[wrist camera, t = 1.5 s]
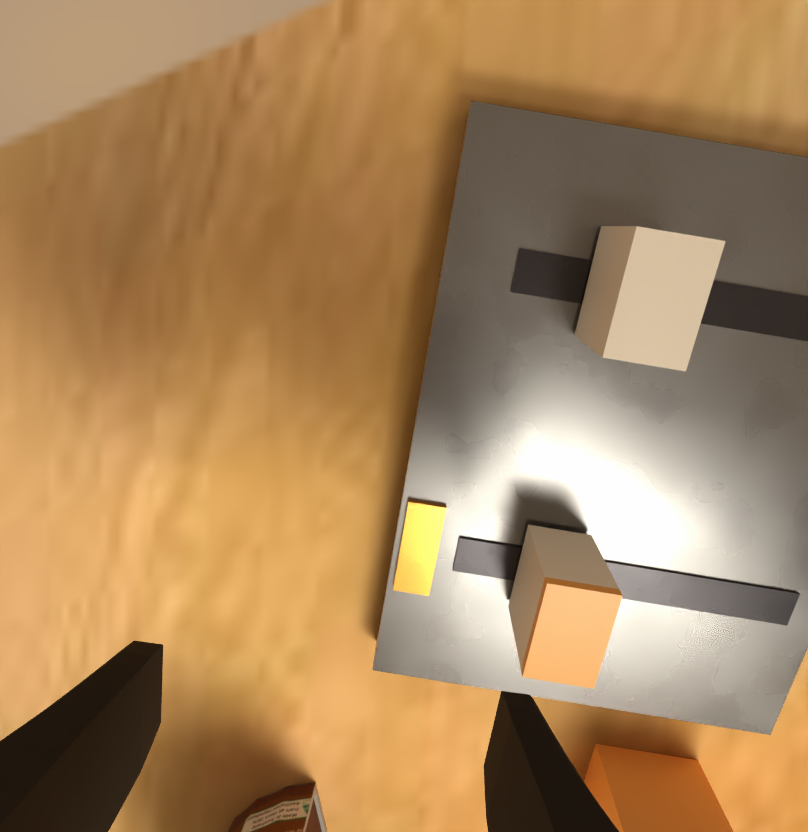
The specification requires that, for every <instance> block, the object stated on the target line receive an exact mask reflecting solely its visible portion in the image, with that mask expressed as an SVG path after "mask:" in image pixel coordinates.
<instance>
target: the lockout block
mask: <svg viewBox="0 0 808 832" xmlns="http://www.w3.org/2000/svg"><path fill="white" fill-rule="evenodd" d="M584 783H585V784H586V786H587V787H588V789H589V790H590V792H591V793H592V795H593V796H594V797H595V799H596V800H597V802H598V803H599V805H600V806H601V807H602V809H603V810H604V812H605V813H606V814H607V816H608V817H609V818H610V820H611V821H612V823H613V824H614V825H615V827H616V828H617V829H618V831H619V832H733V830H732V828H731V826H730V824H729V822H728V820H727V818H726V816H725V814H724V812H723V810H722V808H721V806H720V804H719V802H718V800H717V798H716V796H715V794H714V792H713V790H712V788H711V786H710V784H709V782H708V780H707V778H706V776H705V774H704V772H703V770H702V768H701V766H700V764H699V762H698V760H694V759H688V758H682V757H675V756H669V755H663V754H657V753H651V752H645V751H638V750H632V749H626V748H620V747H614V746H608V745H601V744H595V747H594V750H593V753H592V757H591V760H590V763H589V766H588V769H587V772H586V775H585V779H584Z"/></svg>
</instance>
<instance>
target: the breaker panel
mask: <svg viewBox="0 0 808 832" xmlns="http://www.w3.org/2000/svg"><path fill="white" fill-rule="evenodd" d="M601 226H638V227H644V228H650V229H656V230H662V231H668V232H674V233H680V234H686V235H692V236H698V237H704V238H710V239H716V240H722V241H726V242H725V245H724V248H723V251H722V255H721V258H720V261H719V264H718V268H717V271H716V274H715V278H714V281H713V284H712V287H711V291H710V294H709V297H708V301H707V304H706V307H705V310H704V314H703V317H702V320H701V323H700V327H699V330H698V333H697V337H696V340H695V343H694V346H693V350H692V353H691V356H690V360H689V363H688V366H687V369H686V371H680V370H674V369H668V368H662V367H656V366H650V365H644V364H638V363H632V362H626V361H620V360H614V359H608V358H602V357H601V356H600V355H598V354H597V353H596V352H595V351H593V350H592V349H591V348H589V347H588V346H587V345H585V344H584V343H583V342H582V341H580V340H579V339H578V338H576V337H575V336H574V335H575V331H576V327H577V323H578V319H579V315H580V311H581V307H582V303H583V299H584V294H585V290H586V286H587V282H588V278H589V274H590V270H591V266H592V262H593V258H594V254H595V249H596V245H597V241H598V237H599V233H600V229H601ZM528 525H534V526H540V527H546V528H552V529H558V530H564V531H570V532H576V533H582V534H589V535H592V537H593V539H594V541H595V543H596V545H597V547H598V549H599V551H600V553H601V555H602V556H603V558H604V560H605V562H606V564H607V566H608V568H609V570H610V572H611V574H612V576H613V578H614V580H615V582H616V584H617V586H618V588H619V589H620V591H621V593H622V595H623V597H622V600H621V603H620V606H619V609H618V613H617V616H616V619H615V622H614V626H613V629H612V632H611V635H610V639H609V642H608V645H607V648H606V652H605V655H604V658H603V661H602V665H601V668H600V671H599V674H598V678H597V681H596V684H595V687H594V689H592V688H586V687H580V686H574V685H567V684H561V683H555V682H549V681H543V680H537V679H531V678H524V677H522V673H521V668H520V663H519V658H518V653H517V648H516V643H515V638H514V633H513V628H512V623H511V618H510V613H509V608H508V605H509V601H510V597H511V593H512V589H513V585H514V581H515V577H516V572H517V568H518V564H519V560H520V556H521V552H522V548H523V544H524V540H525V536H526V532H527V527H528ZM807 648H808V157H802V156H796V155H790V154H785V153H779V152H773V151H767V150H761V149H755V148H749V147H743V146H737V145H731V144H725V143H719V142H713V141H707V140H701V139H695V138H689V137H683V136H677V135H671V134H665V133H660V132H654V131H648V130H642V129H636V128H630V127H624V126H618V125H612V124H606V123H600V122H594V121H588V120H582V119H576V118H570V117H564V116H558V115H552V114H546V113H541V112H535V111H529V110H523V109H517V108H511V107H505V106H499V105H493V104H487V103H481V102H475V101H471V103H470V107H469V110H468V114H467V120H466V126H465V132H464V138H463V143H462V149H461V155H460V161H459V167H458V172H457V178H456V184H455V190H454V195H453V201H452V207H451V213H450V219H449V224H448V230H447V236H446V242H445V248H444V253H443V259H442V265H441V271H440V277H439V282H438V288H437V294H436V300H435V305H434V311H433V317H432V323H431V329H430V334H429V340H428V346H427V352H426V358H425V363H424V369H423V375H422V381H421V387H420V392H419V398H418V404H417V410H416V415H415V421H414V427H413V433H412V439H411V444H410V450H409V456H408V462H407V468H406V473H405V479H404V485H403V491H402V496H401V502H400V508H399V514H398V520H397V525H396V531H395V537H394V543H393V549H392V554H391V560H390V566H389V572H388V578H387V583H386V589H385V595H384V601H383V606H382V612H381V618H380V624H379V630H378V635H377V641H376V648H375V656H374V663H373V670H375V671H381V672H387V673H393V674H399V675H406V676H412V677H418V678H424V679H430V680H436V681H442V682H449V683H455V684H461V685H467V686H473V687H479V688H485V689H492V690H498V691H506V692H514V693H521V694H528V695H531V696H535V697H541V698H547V699H553V700H559V701H565V702H571V703H578V704H584V705H590V706H596V707H602V708H608V709H614V710H621V711H627V712H633V713H639V714H645V715H651V716H657V717H664V718H670V719H676V720H682V721H688V722H694V723H700V724H707V725H713V726H719V727H725V728H731V729H737V730H743V731H750V732H756V733H762V734H768V735H771V732H772V730H773V728H774V725H775V723H776V721H777V718H778V716H779V714H780V711H781V709H782V707H783V704H784V702H785V699H786V697H787V695H788V692H789V690H790V688H791V685H792V683H793V681H794V678H795V676H796V674H797V671H798V669H799V667H800V664H801V662H802V660H803V657H804V655H805V653H806V650H807Z"/></svg>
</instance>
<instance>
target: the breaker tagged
mask: <svg viewBox="0 0 808 832" xmlns="http://www.w3.org/2000/svg"><path fill="white" fill-rule="evenodd" d="M622 597H623V595H622V593H621V591H620V589H619V588H618V586H617V584H616V582H615V580H614V578H613V576H612V574H611V572H610V570H609V568H608V566H607V564H606V562H605V560H604V558H603V556H602V555H601V553H600V551H599V549H598V547H597V545H596V543H595V541H594V539H593V537H592V535H589V534H582V533H576V532H570V531H564V530H558V529H552V528H546V527H540V526H534V525H528V527H527V532H526V536H525V540H524V544H523V548H522V552H521V556H520V560H519V564H518V568H517V572H516V577H515V581H514V585H513V589H512V593H511V597H510V601H509V605H508V608H509V613H510V618H511V623H512V628H513V633H514V638H515V643H516V648H517V653H518V658H519V663H520V668H521V673H522V677H524V678H531V679H537V680H543V681H549V682H555V683H561V684H567V685H574V686H580V687H586V688H592V689H594V687H595V684H596V681H597V678H598V674H599V671H600V668H601V665H602V661H603V658H604V655H605V652H606V648H607V645H608V642H609V639H610V635H611V632H612V629H613V626H614V622H615V619H616V616H617V613H618V609H619V606H620V603H621V600H622Z"/></svg>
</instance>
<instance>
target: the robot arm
mask: <svg viewBox="0 0 808 832" xmlns="http://www.w3.org/2000/svg"><path fill="white" fill-rule="evenodd" d="M162 664H163V645H162V644H154V643H147V642H140V641H133V642H132V643H130V644H129V645H128V646H126V647H125V648H124V649H123V650H121V651H120V652H119V653H117V654H116V655H115V656H114V657H112V658H111V659H110V660H109V661H107V662H106V663H105V664H104V665H102V666H101V667H100V668H99V669H97V670H96V671H95V672H94V673H92V674H91V675H90V676H89V677H87V678H86V679H85V680H83V681H82V682H81V683H80V684H78V685H77V686H76V687H74V688H73V689H72V690H70V691H69V692H68V693H67V694H65V695H64V696H63V697H61V698H60V699H59V700H57V701H56V702H55V703H53V704H52V705H51V706H49V707H48V708H47V709H45V710H44V711H43V712H41V713H40V714H38V715H37V716H36V717H34V718H33V719H31V720H30V721H28V722H27V723H26V724H24V725H23V726H21V727H20V728H18V729H17V730H15V731H14V732H13V733H11V734H10V735H8V736H7V737H5V738H4V739H3V740H1V741H0V832H108V831H109V829H110V827H111V825H112V823H113V822H114V820H115V818H116V816H117V814H118V813H119V811H120V809H121V807H122V805H123V803H124V802H125V800H126V798H127V796H128V794H129V792H130V790H131V789H132V787H133V785H134V783H135V781H136V779H137V777H138V776H139V774H140V772H141V769H142V767H143V765H144V762H145V760H146V758H147V755H148V753H149V751H150V748H151V746H152V743H153V741H154V738H155V736H156V733H157V731H158V728H159V726H160V723H161V699H162ZM484 780H485V802H486V818H487V825H488V832H619V831H618V829H617V828H616V827H615V825H614V824H613V823H612V821H611V820H610V818H609V817H608V816H607V814H606V813H605V812H604V810H603V809H602V807H601V806H600V805H599V803H598V802H597V800H596V799H595V797H594V796H593V795H592V793H591V792H590V790H589V789H588V787H587V786H586V784H585V783H584V781H583V780H582V778H581V777H580V775H579V774H578V772H577V771H576V769H575V768H574V766H573V764H572V763H571V761H570V760H569V758H568V757H567V755H566V753H565V752H564V750H563V749H562V747H561V745H560V744H559V742H558V740H557V739H556V737H555V735H554V734H553V732H552V730H551V729H550V727H549V725H548V724H547V722H546V720H545V719H544V717H543V715H542V713H541V712H540V710H539V708H538V706H537V705H536V703H535V701H534V700H533V698H532V697H531V695H528V694H521V693H514V692H506V691H501V695H500V700H499V704H498V708H497V712H496V717H495V721H494V725H493V729H492V733H491V738H490V742H489V746H488V750H487V755H486V759H485V763H484Z"/></svg>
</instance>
